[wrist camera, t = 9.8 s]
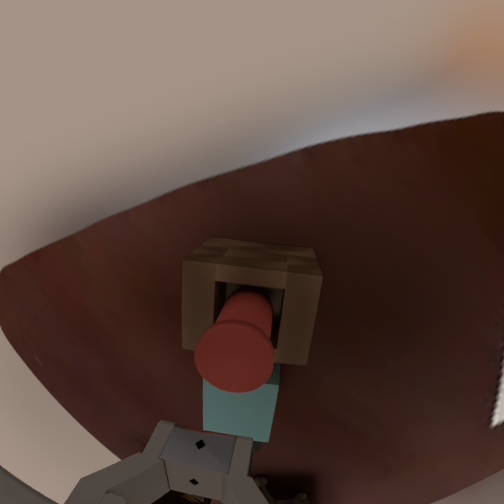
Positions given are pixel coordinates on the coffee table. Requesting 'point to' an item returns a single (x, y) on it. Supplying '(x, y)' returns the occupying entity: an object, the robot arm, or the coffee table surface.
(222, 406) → the block
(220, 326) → the red rounded peg
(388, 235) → the coffee table surface
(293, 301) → the wooden box
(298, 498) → the tabletop clock
